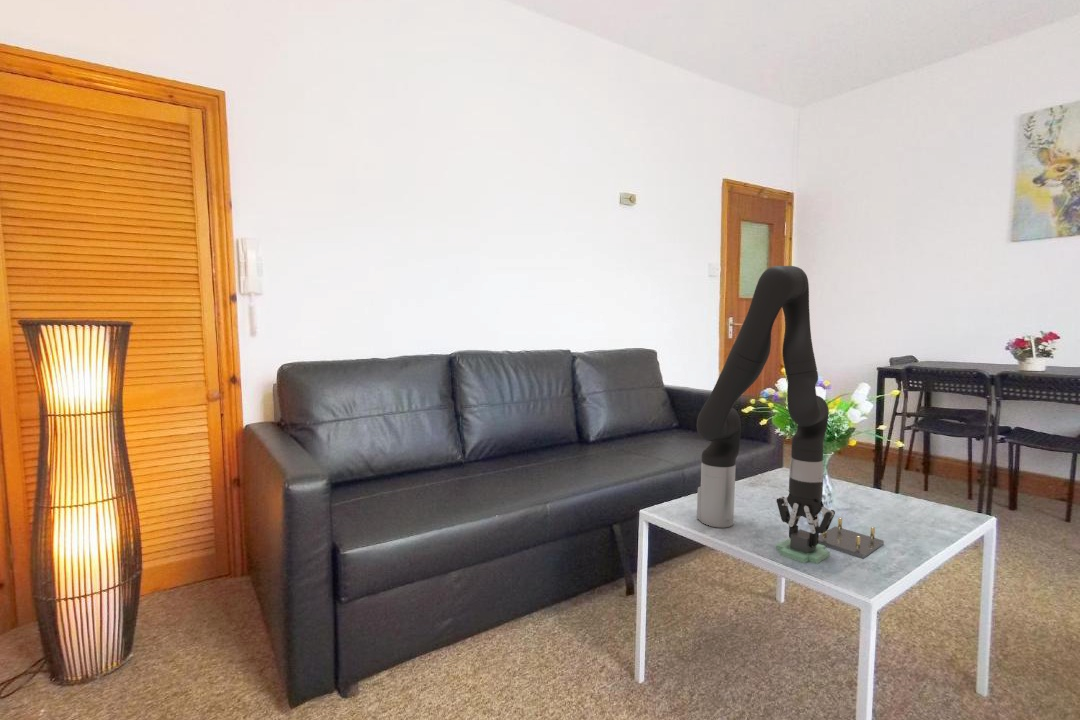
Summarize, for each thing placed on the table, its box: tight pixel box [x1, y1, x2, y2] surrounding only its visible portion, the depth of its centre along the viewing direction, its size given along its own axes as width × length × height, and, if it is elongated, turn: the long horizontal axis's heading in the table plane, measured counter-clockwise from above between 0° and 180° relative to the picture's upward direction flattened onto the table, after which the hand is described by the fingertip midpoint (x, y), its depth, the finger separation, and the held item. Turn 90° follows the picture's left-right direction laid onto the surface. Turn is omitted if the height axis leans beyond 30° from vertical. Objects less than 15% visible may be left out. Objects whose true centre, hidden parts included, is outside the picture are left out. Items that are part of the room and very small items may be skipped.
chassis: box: [818, 517, 885, 559], centre depth 142 cm, size 12×13×4 cm
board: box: [775, 529, 831, 565], centre depth 137 cm, size 10×11×5 cm
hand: (803, 543), depth 136 cm, fingers closed on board, 4 cm apart
